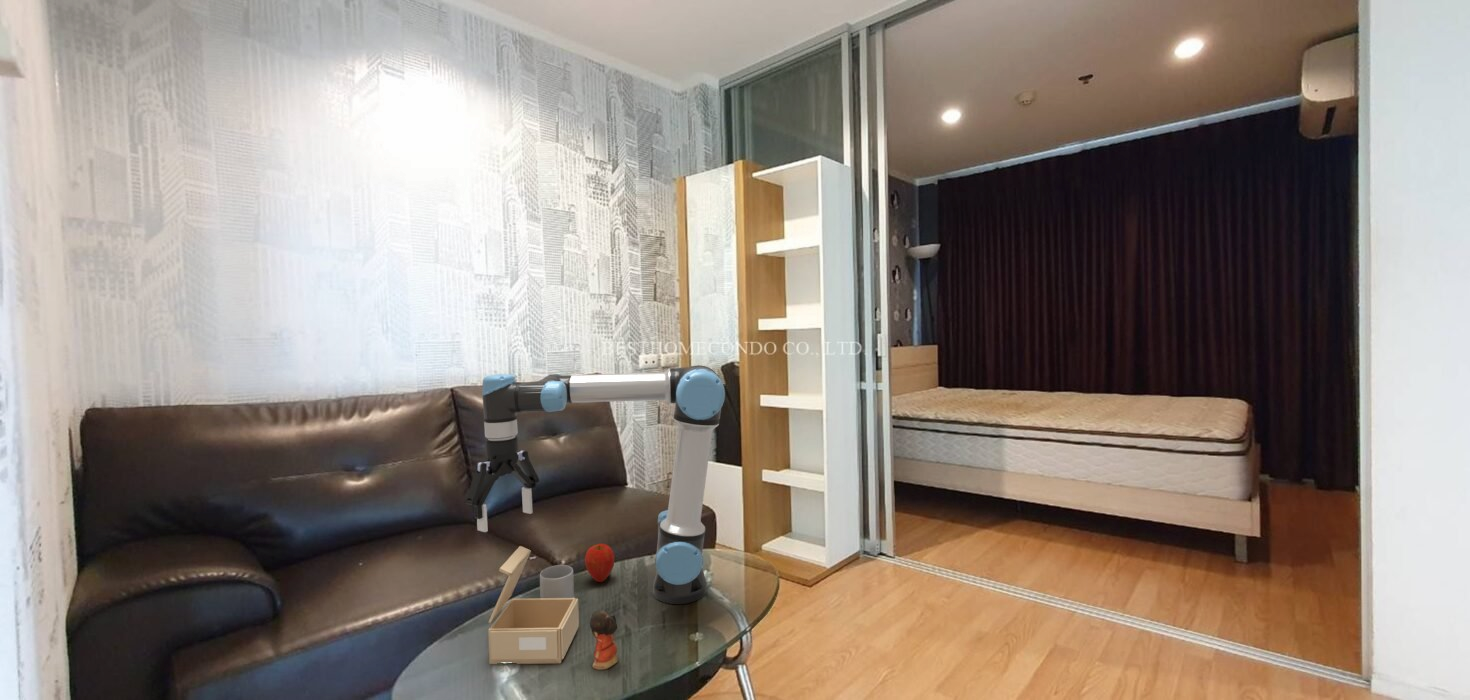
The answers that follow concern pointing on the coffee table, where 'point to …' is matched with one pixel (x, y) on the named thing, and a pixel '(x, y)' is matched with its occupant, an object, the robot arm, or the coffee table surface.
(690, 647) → the coffee table surface
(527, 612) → the carton
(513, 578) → the lid
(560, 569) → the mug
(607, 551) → the apple
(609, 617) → the figurine
